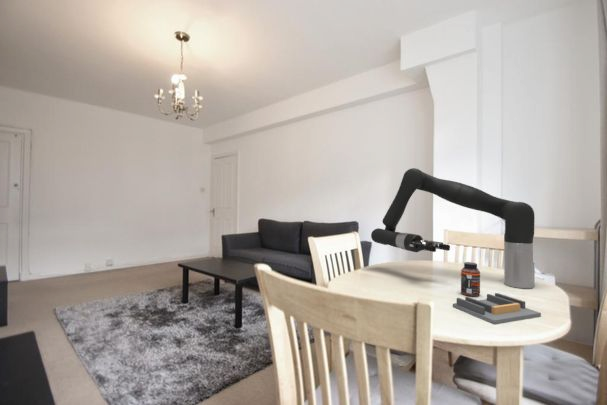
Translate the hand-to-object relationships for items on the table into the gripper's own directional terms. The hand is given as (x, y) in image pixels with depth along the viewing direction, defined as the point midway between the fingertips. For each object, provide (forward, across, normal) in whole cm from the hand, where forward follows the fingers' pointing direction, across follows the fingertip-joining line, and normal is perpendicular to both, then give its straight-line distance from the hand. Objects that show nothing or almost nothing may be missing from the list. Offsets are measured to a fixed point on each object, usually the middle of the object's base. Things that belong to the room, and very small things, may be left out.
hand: (442, 248), depth 113 cm
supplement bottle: (+12, 0, +15) cm, 19 cm away
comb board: (+25, -9, +14) cm, 30 cm away
